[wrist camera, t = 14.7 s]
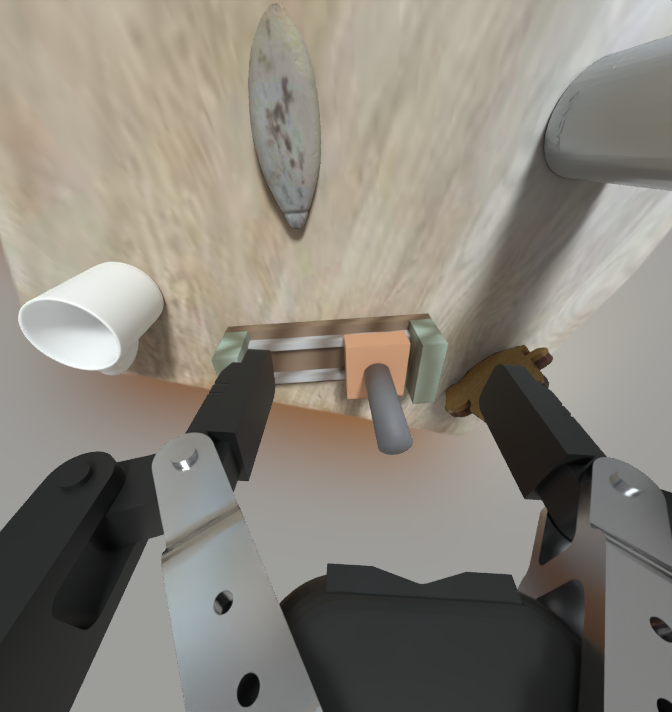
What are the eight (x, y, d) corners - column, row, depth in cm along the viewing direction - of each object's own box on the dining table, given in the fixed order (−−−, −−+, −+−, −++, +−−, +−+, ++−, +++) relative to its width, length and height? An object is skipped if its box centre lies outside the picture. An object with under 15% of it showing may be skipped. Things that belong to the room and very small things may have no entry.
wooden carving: (450, 400, 50) (475, 448, 42) (433, 390, 48) (457, 438, 40) (535, 338, 42) (585, 383, 34) (519, 323, 41) (569, 366, 33)
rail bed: (428, 313, 39) (448, 343, 33) (418, 368, 45) (434, 402, 39) (228, 327, 38) (211, 360, 32) (245, 380, 44) (234, 416, 38)
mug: (176, 346, 40) (139, 398, 32) (113, 340, 39) (58, 392, 30) (158, 265, 33) (105, 304, 24) (80, 254, 32) (-3, 292, 23)
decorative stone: (273, 227, 31) (268, 235, 28) (234, 16, 22) (223, -2, 19) (326, 223, 31) (327, 230, 28) (312, 11, 22) (311, -8, 19)
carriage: (404, 330, 36) (442, 411, 25) (398, 381, 42) (427, 466, 31) (344, 334, 36) (355, 418, 25) (345, 384, 42) (356, 471, 30)
